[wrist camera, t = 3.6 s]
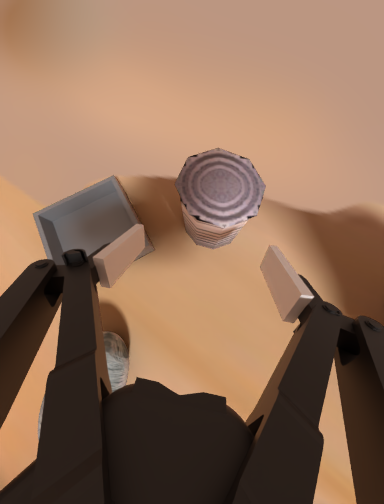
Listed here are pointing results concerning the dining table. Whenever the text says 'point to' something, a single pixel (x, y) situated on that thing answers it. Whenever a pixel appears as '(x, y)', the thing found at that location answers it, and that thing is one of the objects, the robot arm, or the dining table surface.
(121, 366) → the spool
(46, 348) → the dining table surface
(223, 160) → the can
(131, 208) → the tray
